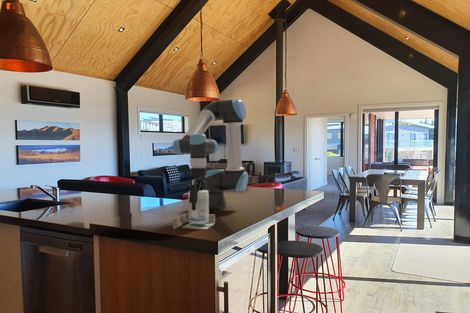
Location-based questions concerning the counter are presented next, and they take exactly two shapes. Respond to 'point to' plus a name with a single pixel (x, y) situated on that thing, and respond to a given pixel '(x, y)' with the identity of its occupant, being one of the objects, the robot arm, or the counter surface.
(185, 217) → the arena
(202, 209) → the supplement tub
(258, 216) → the counter surface
